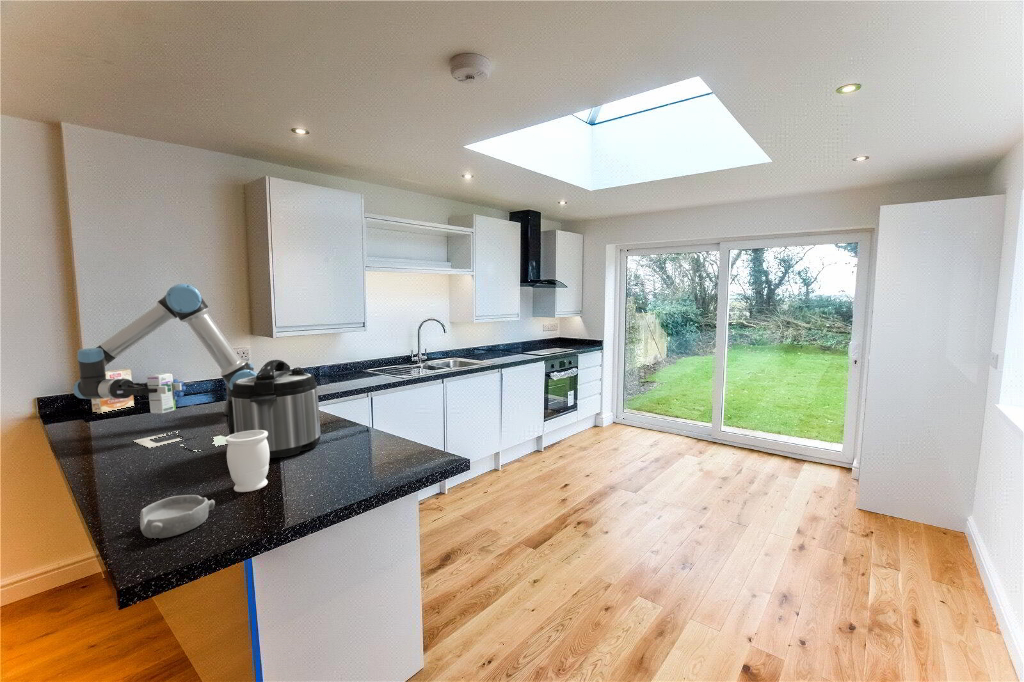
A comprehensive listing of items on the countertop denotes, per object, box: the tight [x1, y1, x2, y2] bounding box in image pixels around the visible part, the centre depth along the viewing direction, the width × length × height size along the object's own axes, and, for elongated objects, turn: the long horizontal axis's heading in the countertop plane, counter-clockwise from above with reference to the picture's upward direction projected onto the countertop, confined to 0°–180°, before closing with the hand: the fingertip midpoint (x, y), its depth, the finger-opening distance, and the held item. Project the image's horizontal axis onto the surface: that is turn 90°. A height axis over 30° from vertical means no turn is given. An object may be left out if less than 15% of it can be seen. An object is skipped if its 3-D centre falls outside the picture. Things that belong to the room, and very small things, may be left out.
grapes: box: [173, 378, 187, 402], centre depth 250 cm, size 12×7×12 cm, turn 133°
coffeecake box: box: [90, 368, 135, 414], centre depth 233 cm, size 15×7×20 cm, turn 161°
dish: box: [139, 494, 216, 540], centre depth 110 cm, size 14×14×5 cm
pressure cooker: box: [227, 359, 321, 459], centre depth 163 cm, size 30×28×32 cm
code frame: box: [132, 430, 182, 449], centre depth 180 cm, size 16×16×1 cm
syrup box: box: [146, 372, 177, 414], centre depth 178 cm, size 6×6×14 cm
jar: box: [225, 430, 270, 493], centre depth 131 cm, size 11×10×15 cm
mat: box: [179, 434, 228, 453], centre depth 172 cm, size 14×14×1 cm
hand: (173, 388), depth 178 cm, fingers closed on syrup box, 6 cm apart
